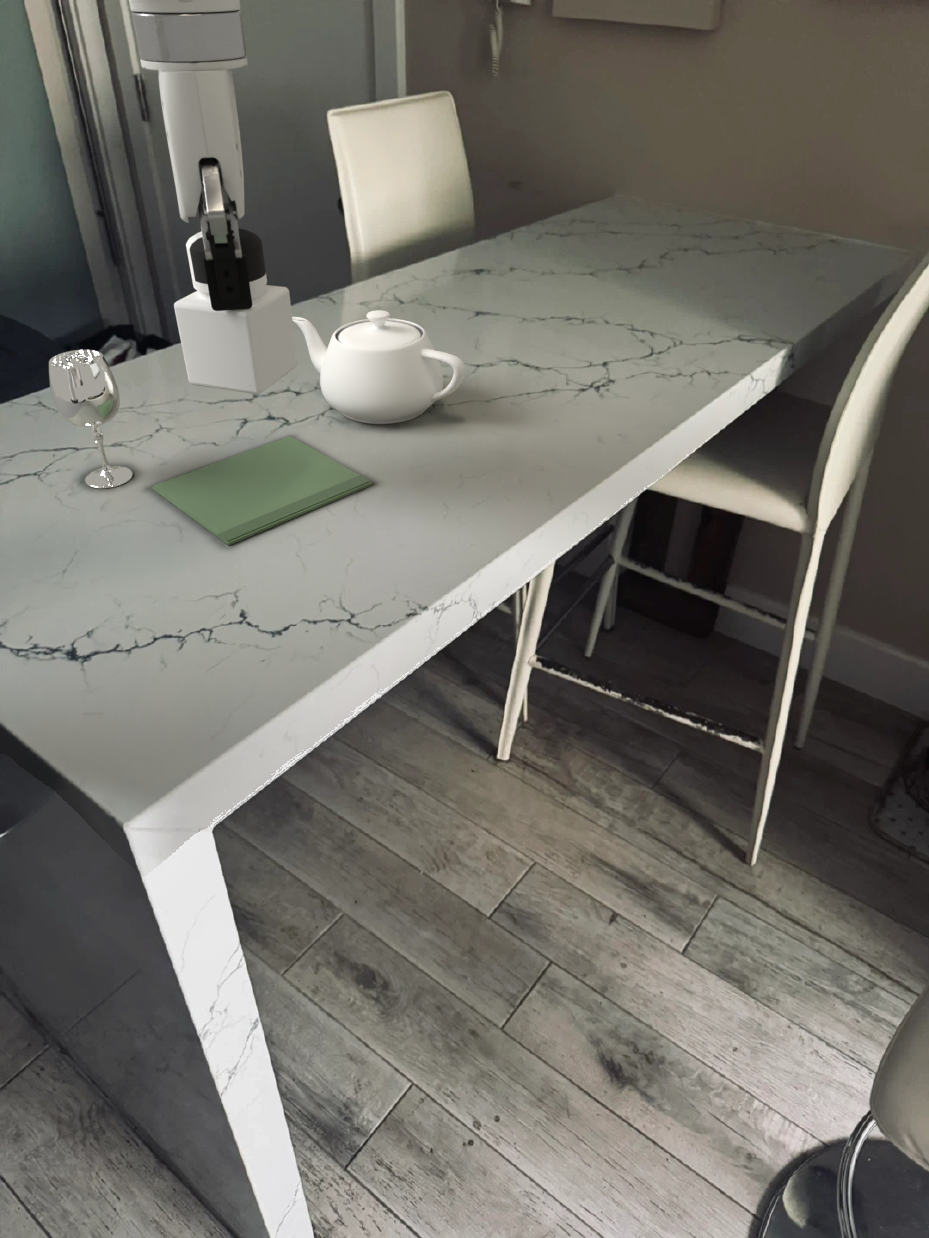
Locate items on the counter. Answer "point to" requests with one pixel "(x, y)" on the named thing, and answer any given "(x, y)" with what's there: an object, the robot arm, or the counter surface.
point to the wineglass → (88, 404)
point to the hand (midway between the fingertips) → (231, 292)
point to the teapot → (380, 368)
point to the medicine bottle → (236, 327)
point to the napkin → (260, 489)
